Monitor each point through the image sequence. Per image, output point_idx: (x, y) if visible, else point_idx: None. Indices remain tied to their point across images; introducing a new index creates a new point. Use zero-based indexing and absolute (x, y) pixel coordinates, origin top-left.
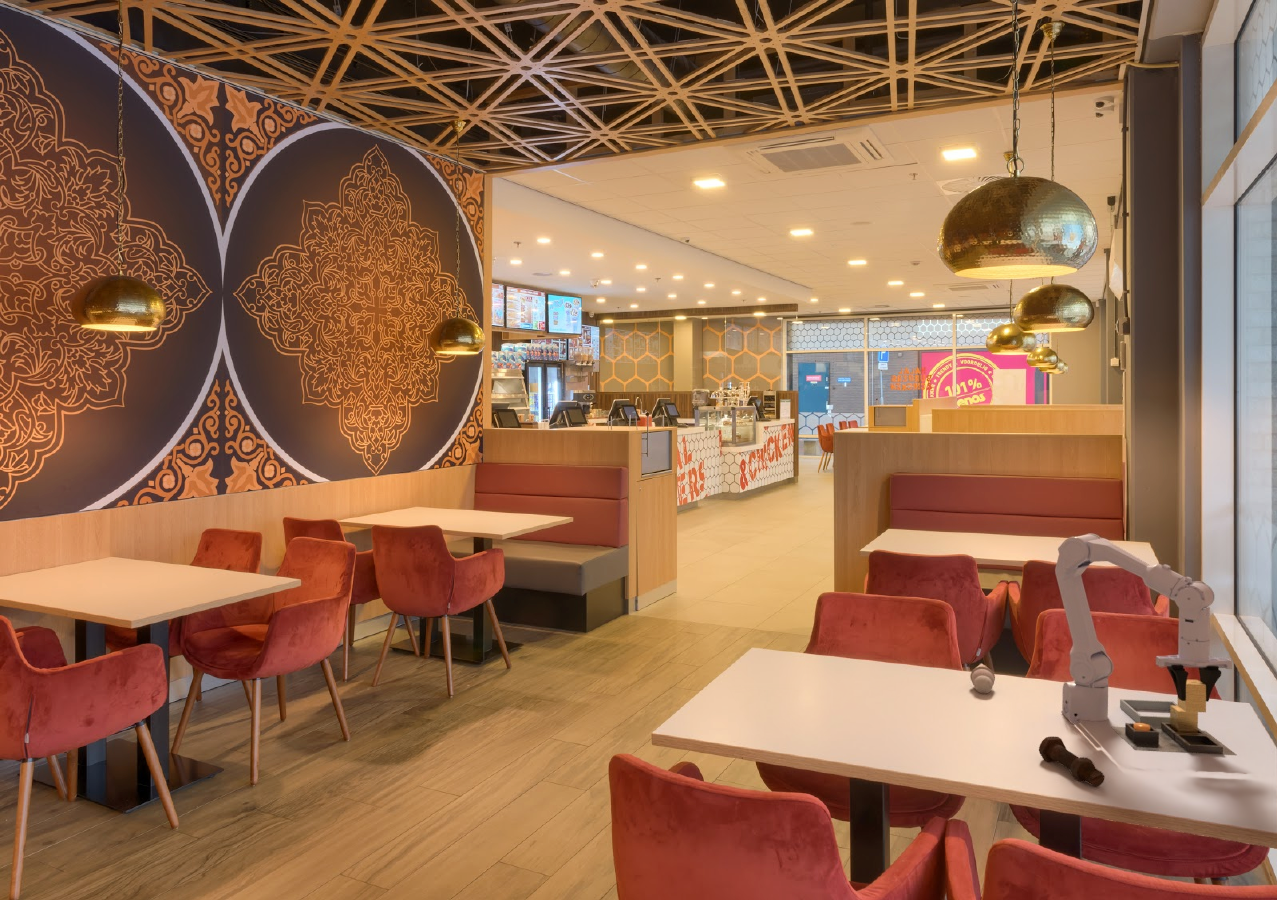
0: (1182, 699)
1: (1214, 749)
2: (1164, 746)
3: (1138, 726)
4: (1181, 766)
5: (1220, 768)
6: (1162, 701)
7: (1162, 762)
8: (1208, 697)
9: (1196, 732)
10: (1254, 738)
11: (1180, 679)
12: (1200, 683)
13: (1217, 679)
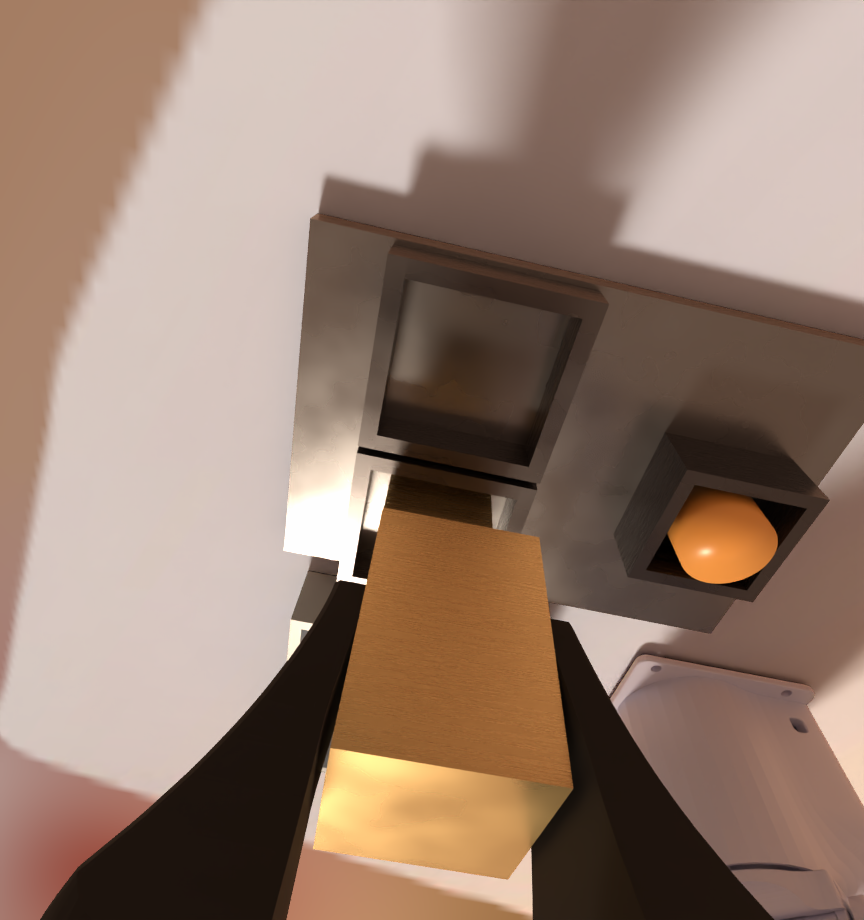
0: (571, 630)
1: (444, 259)
2: (669, 390)
3: (765, 539)
4: (783, 120)
5: (534, 56)
6: (323, 767)
7: (845, 206)
8: (333, 607)
9: (393, 489)
10: (71, 479)
11: (713, 867)
12: (365, 781)
13: (166, 800)
